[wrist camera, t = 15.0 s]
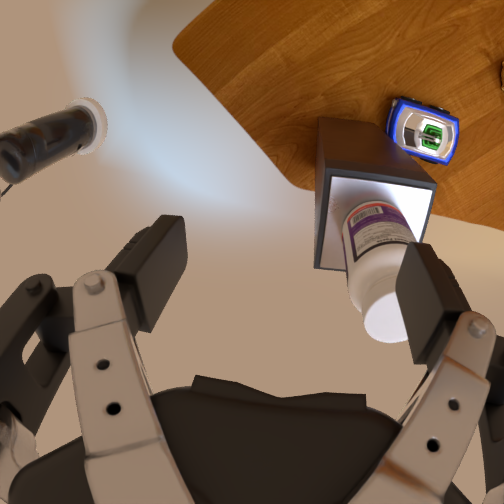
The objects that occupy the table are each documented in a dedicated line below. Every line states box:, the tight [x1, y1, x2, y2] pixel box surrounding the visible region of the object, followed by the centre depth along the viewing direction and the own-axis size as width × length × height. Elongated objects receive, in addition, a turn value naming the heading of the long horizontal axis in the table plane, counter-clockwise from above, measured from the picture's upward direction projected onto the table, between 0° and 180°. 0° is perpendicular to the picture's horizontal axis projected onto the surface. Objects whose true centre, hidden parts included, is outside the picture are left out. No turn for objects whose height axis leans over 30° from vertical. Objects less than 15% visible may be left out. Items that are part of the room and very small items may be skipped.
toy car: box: [385, 96, 459, 166], centre depth 38 cm, size 9×12×10 cm
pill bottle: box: [342, 201, 417, 343], centre depth 19 cm, size 5×5×10 cm
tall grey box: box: [314, 117, 437, 272], centre depth 35 cm, size 9×9×28 cm
